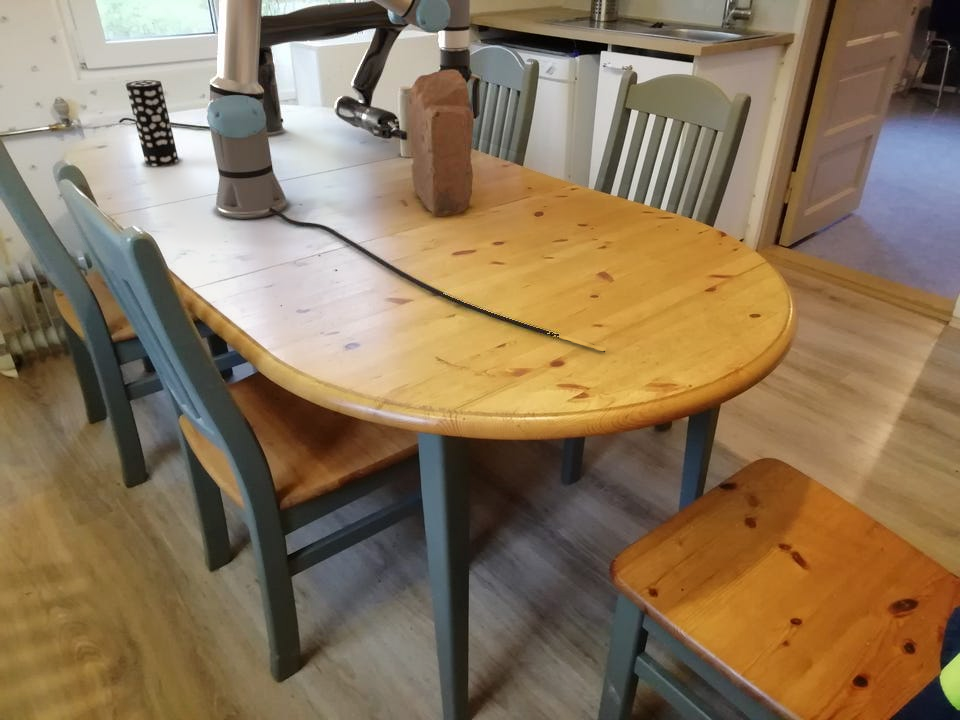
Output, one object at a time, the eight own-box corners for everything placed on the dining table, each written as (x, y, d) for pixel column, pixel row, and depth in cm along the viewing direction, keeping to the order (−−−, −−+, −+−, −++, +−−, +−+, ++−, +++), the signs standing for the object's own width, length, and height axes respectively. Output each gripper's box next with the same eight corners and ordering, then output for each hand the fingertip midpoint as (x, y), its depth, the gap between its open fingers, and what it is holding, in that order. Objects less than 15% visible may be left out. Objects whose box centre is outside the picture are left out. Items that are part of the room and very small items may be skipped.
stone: (482, 213, 155) (482, 80, 141) (434, 219, 152) (429, 83, 138) (455, 187, 173) (452, 67, 159) (411, 191, 170) (404, 69, 156)
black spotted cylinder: (184, 157, 190) (167, 80, 179) (169, 166, 183) (151, 87, 172) (155, 156, 190) (136, 79, 179) (139, 165, 183) (119, 86, 172)
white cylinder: (400, 153, 196) (397, 86, 186) (414, 152, 197) (412, 85, 187) (401, 157, 193) (398, 89, 183) (416, 156, 193) (413, 89, 183)
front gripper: (493, 47, 169) (492, 143, 182) (425, 44, 174) (429, 138, 186) (485, 52, 163) (484, 151, 176) (415, 49, 167) (419, 145, 180)
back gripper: (357, 112, 195) (390, 124, 184) (399, 105, 202) (433, 117, 191) (359, 139, 199) (391, 153, 188) (401, 131, 206) (434, 144, 195)
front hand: (456, 144), depth 181 cm, fingers closed on lid, 5 cm apart
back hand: (412, 134), depth 189 cm, fingers closed on white cylinder, 4 cm apart
